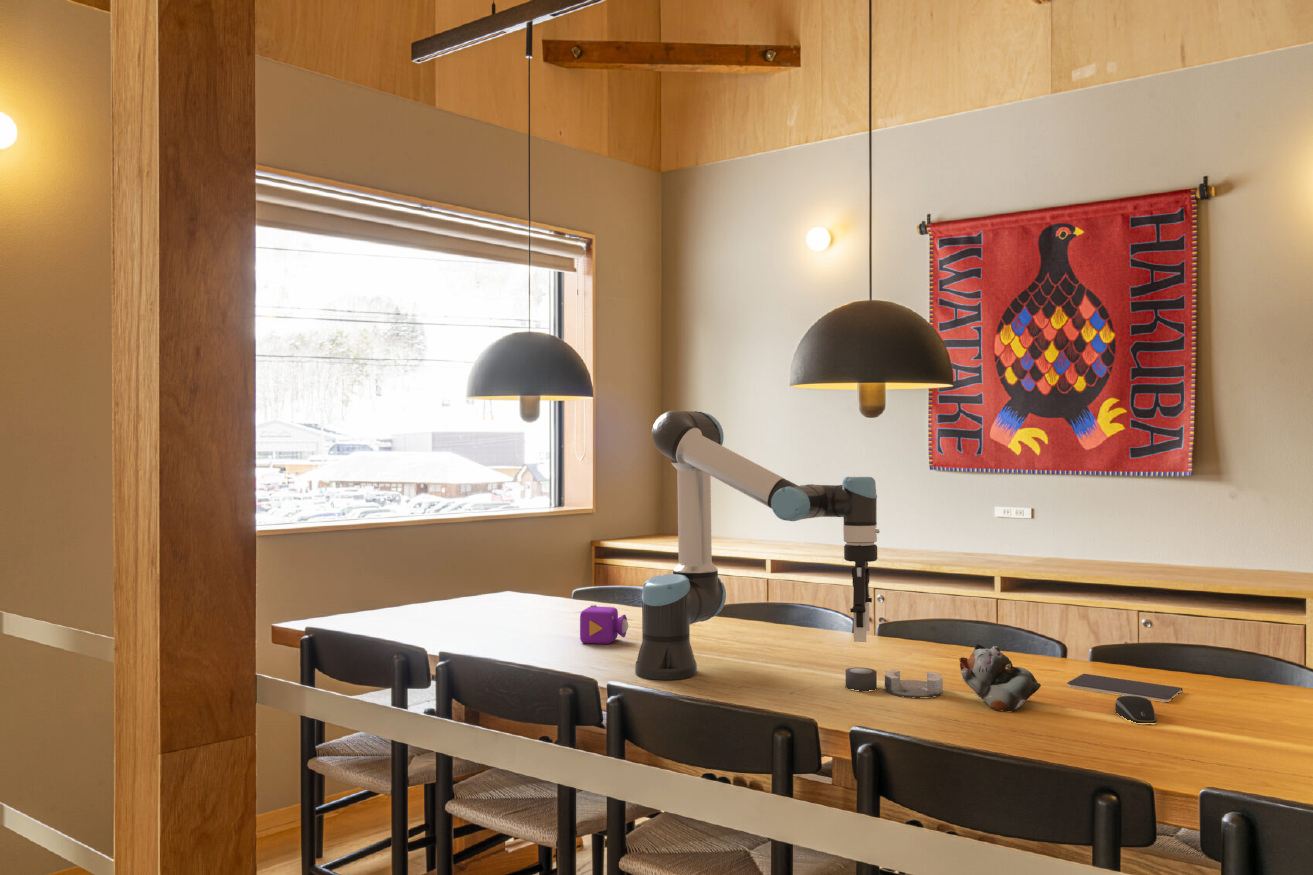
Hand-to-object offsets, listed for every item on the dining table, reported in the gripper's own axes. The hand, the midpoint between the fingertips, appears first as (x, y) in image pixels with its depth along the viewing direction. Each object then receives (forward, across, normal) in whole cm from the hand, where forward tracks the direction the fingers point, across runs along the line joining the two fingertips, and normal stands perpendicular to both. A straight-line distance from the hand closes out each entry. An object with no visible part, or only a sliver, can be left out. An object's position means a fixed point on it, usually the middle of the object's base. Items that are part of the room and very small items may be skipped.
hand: (861, 636), depth 218 cm
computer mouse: (+13, -9, -55) cm, 58 cm away
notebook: (+13, +14, -57) cm, 61 cm away
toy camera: (+11, +35, +74) cm, 83 cm away
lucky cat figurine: (+12, -6, -29) cm, 32 cm away
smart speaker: (+12, 0, 0) cm, 12 cm away
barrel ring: (+12, 0, -11) cm, 16 cm away
